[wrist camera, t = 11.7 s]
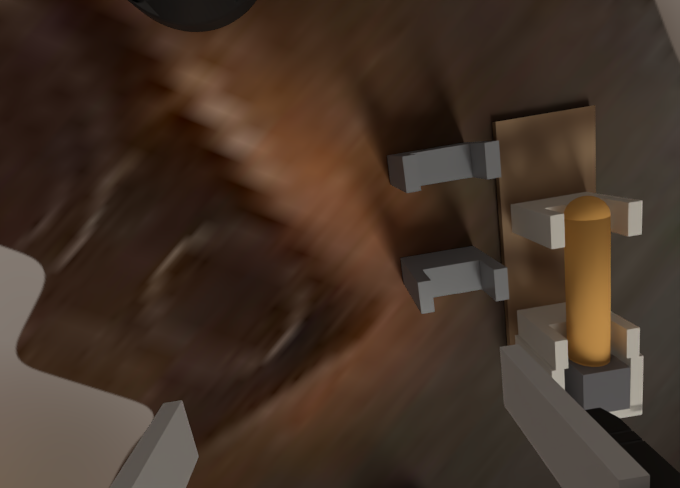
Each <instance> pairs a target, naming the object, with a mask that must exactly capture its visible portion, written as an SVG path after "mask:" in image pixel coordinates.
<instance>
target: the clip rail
mask: <svg viewBox="0 0 680 488" xmlns="http://www.w3.org/2000/svg"><path fill="white" fill-rule="evenodd" d="M492 127H493V141H497V140H499V149H500V164H501V177H499V178H496V186H497V201H498V215H499V230H500V245H501V259H502V265H504V266H505V267H507V272H508V288H509V299H507V300H504V304H505V318H506V333H507V346H509V345H515V335H518V320H517V310H522V309H528V308H534V307H540V306H546V305H552V304H558V303H564V302H566V296H565V261H564V247H563V248H557V249H550V248H547V247H545V246H543V245H540V244H538V243H536V242H533V241H531V240H529V239H527V238H524V237H522V236H520V235H517V234H515V233H513V232H512V220H511V204H516V203H522V202H528V201H534V200H540V199H546V198H552V197H558V196H564V195H570V194H576V193H582V192H591V193H596V149H595V105H593V106H587V107H581V108H575V109H569V110H563V111H557V112H551V113H545V114H539V115H533V116H528V117H522V118H516V119H510V120H504V121H498V122H492Z"/></svg>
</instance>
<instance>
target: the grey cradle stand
mask: <svg viewBox="0 0 680 488" xmlns="http://www.w3.org/2000/svg"><path fill="white" fill-rule="evenodd" d="M387 161H388V168H389V176H390V183H391V185H392V186H394V187H396V188H398V189H400V190H402V191H404V192H406V193H410V192H416V191H421V187H420V186H422V185H428V184H434V183H440V182H446V181H452V180H458V179H464V178H470V177H476V178H482V179H493V178H499V177H501V164H500V149H499V140H497V141H481V142H464V143H458V144H452V145H446V146H440V147H434V148H428V149H423V150H417V151H411V152H405V153H399V154H393V155H387ZM400 259H401V267H402V275H403V282H404V285H405V287H406V288H407V290H408V292H409V294H410V295H411V297H412V299H413V300H414V302H415V304H416V305H417V307H418V309H419V310H420V312H421V314H424V313H430V312H435V310H434V301H433V297H438V296H444V295H450V294H456V293H462V292H468V291H474V290H480V289H483V290H484V291H485V292H486V293H487V294H488V295H489V296H491V297H492V298H493V299H494V300H495V301H501V300H507V299H509V288H508V272H507V267H505V266H504V265H502V264H501V263H499V262H498V261H496V260H494V259H493V258H491V257H490V256H488V255H487V254H485V253H483V252H482V251H480V250H479V249H477V248H476V247H474V246H469V247H463V248H457V249H451V250H445V251H439V252H433V253H427V254H421V255H415V256H409V257H403V258H400Z"/></svg>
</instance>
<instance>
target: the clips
mask: <svg viewBox="0 0 680 488" xmlns="http://www.w3.org/2000/svg"><path fill="white" fill-rule="evenodd" d="M581 196H595V197H597V198H600V199H601V200H603V201H604V202H605V203H606V204H607V205H608V207H609V209H610V213H611V232H614V233H618V234H621V235H625V236H634V235H640V234H642V200H636V199H630V198H623V197H617V196H610V195H604V194H598V193H591V192H582V193H576V194H570V195H564V196H558V197H552V198H546V199H540V200H534V201H528V202H522V203H516V204H511V220H512V232H513V233H515V234H517V235H520V236H522V237H524V238H527V239H529V240H531V241H533V242H536V243H538V244H540V245H543V246H545V247H547V248H550V249H557V248H563V247H565V226H564V210H565V208H566V206H567V205H568V204H569V203H570V202H571V201H572V200H574V199H576V198H578V197H581ZM517 320H518V335H515V344H519V345H520V346H521V347H522V348H523V349H524V350H525V351H526V352H527V353H528V354H529V355H530V356H531V357H532V358H533V359H534V360H535V361H536V362H537V363H538V364H539V365H540V366H541V367H542V368H543V369H544V370H545V371H546V372H547V373H548V374H549V375H550V376H551V377H552V378H553V379H554V380H555V381H556V382H557V383H558V384H559V385H560V386H561V387H562V388H563V389H564V390H565V377H564V369H567V368H568V340H567V332H566V302H564V303H558V304H552V305H546V306H540V307H534V308H528V309H522V310H517ZM639 344H640V327H638V326H636V325H634V324H632V323H631V322H629V321H627V320H625V319H624V318H622V317H620V316H618V315H616V314H615V313H613V312H611V354H612V355H614V356H615V357H617V358H618V359H619V360H621V361H622V362H624V363H625V364H627V365H628V366H629V367H630V409H624V410H618V411H612V412H610V413H611V414H613V415H615V416H617V417H618V418H624V417H630V416H636V415H642V396H643V355H642V354H640V353H639Z"/></svg>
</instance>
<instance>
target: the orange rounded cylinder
mask: <svg viewBox="0 0 680 488" xmlns="http://www.w3.org/2000/svg"><path fill="white" fill-rule="evenodd" d="M564 226H565V247H564V261H565V296H566V332H567V340H568V368H567V369H564V377H565V391H566V392H567V393H568V394H569V395H570V396H571V397H572V398H573V399H574V400H575V401H576V402H577V403H578V404H579V405H580V406H581V407H582V408H583V409H584V410H588V409H594V408H602V409H604V410H606V411H608V412H612V411H618V410H624V409H630V367H629V366H628V365H627V364H625V363H624V362H622V361H621V360H619V359H618V358H617V357H615V356H614V355H612V354H611V213H610V209H609V207H608V205H607V204H606V203H605V202H604V201H603V200H601V199H600V198H597V197H595V196H581V197H578V198H576V199H574V200H572V201H571V202H570V203H569V204H568V205H567V206H566V208H565V210H564Z"/></svg>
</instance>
